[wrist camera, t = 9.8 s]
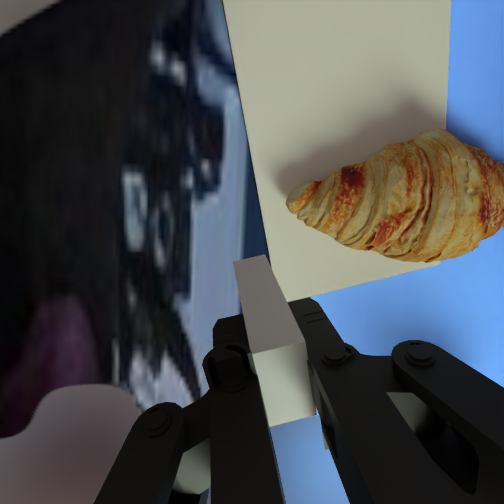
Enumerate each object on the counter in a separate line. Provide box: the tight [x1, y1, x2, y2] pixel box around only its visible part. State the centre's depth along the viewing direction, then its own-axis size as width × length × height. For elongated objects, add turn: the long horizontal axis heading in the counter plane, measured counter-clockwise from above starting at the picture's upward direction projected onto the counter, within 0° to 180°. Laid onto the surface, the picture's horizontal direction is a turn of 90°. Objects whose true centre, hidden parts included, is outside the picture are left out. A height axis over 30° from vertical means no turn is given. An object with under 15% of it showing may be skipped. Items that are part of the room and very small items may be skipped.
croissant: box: [285, 129, 504, 263], centre depth 25 cm, size 21×10×8 cm, turn 91°
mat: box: [223, 0, 451, 302], centre depth 25 cm, size 16×24×1 cm, turn 11°
